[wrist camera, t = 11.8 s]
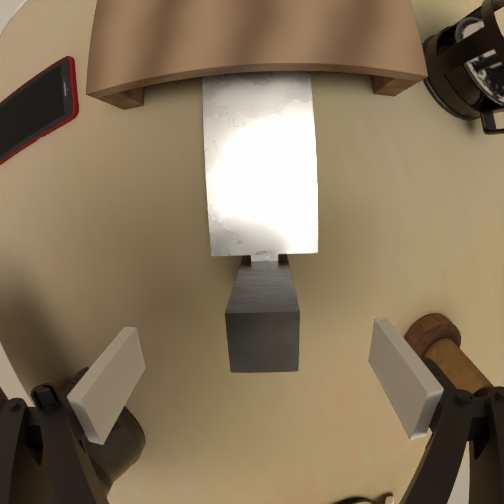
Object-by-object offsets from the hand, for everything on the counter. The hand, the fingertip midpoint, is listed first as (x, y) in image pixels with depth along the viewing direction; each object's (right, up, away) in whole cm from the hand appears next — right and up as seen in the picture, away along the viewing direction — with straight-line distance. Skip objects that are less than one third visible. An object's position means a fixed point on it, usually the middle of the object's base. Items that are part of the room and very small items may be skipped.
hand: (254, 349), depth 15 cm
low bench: (0, +24, +5) cm, 25 cm away
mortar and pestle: (+18, -4, +12) cm, 22 cm away
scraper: (+1, +11, +9) cm, 14 cm away
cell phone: (-25, +21, +8) cm, 33 cm away
